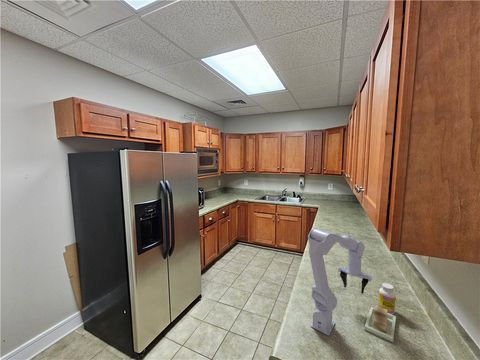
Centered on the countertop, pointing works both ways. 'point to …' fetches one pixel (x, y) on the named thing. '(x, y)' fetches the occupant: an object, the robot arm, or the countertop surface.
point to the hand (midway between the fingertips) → (353, 289)
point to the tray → (389, 331)
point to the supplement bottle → (387, 298)
